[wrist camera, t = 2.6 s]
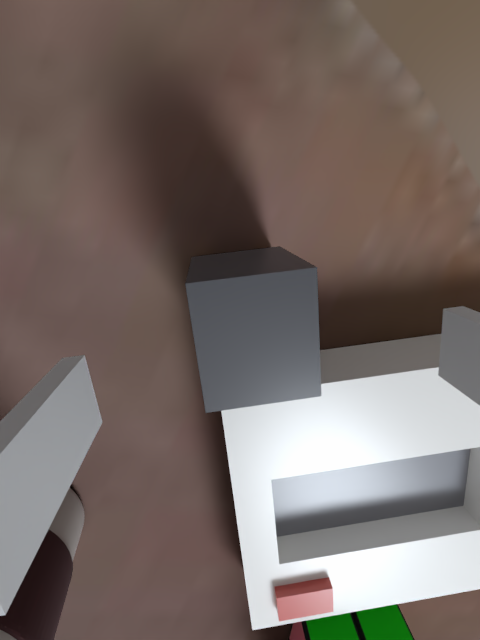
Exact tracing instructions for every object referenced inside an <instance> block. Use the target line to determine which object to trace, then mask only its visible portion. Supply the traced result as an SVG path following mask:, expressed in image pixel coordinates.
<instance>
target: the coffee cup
mask: <svg viewBox="0 0 480 640" xmlns="http://www.w3.org/2000/svg"><path fill="white" fill-rule="evenodd" d="M83 524H84V509H83V506H82V503H81V501H80V499H79V497H78V496H77V495H76V493H75V492H74V491H73V490H72V489H71V488H69V489H68V491H67V493H66V495H65V497H64V499H63V501H62V503H61V505H60V507H59V509H58V511H57V513H56V515H55V517H54V519H53V521H52V523H51V525H50V527H49V529H48V531H47V533H46V535H45V537H44V539H43V541H42V543H41V545H40V547H39V549H38V551H37V553H36V555H35V557H34V559H33V561H32V563H31V565H30V567H29V569H28V571H27V573H26V575H25V577H24V579H23V581H22V583H21V585H20V587H19V589H18V591H17V593H16V595H15V597H14V599H13V601H12V603H11V605H10V607H9V609H8V611H7V613H6V615H3V616H0V640H54V637H55V633H56V630H57V626H58V623H59V619H60V616H61V612H62V609H63V605H64V602H65V598H66V595H67V591H68V587H69V584H70V580H71V576H72V571H73V558H74V555H75V552H76V548H77V545H78V542H79V538H80V535H81V531H82V528H83Z"/></svg>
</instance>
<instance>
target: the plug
mask: <svg viewBox="0 0 480 640" xmlns="http://www.w3.org/2000/svg"><path fill="white" fill-rule="evenodd" d="M185 285H186V291H187V298H188V304H189V310H190V317H191V323H192V329H193V335H194V342H195V348H196V354H197V361H198V367H199V373H200V380H201V386H202V392H203V399H204V405H205V411H206V413H209V412H216V411H223V410H230V409H236V408H243V407H250V406H257V405H264V404H271V403H278V402H285V401H292V400H298V399H305V398H312V397H319V396H321V368H320V340H319V311H318V283H317V267H315V266H314V265H312V264H310V263H308V262H307V261H305V260H303V259H301V258H299V257H298V256H296V255H294V254H292V253H291V252H289V251H287V250H285V249H283V248H282V247H280V246H279V247H271V248H262V249H254V250H246V251H237V252H229V253H221V254H212V255H204V256H196V257H192V258H191V262H190V266H189V270H188V275H187V279H186V283H185Z"/></svg>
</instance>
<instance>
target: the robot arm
mask: <svg viewBox="0 0 480 640" xmlns="http://www.w3.org/2000/svg"><path fill="white" fill-rule="evenodd" d="M438 376H440V377H441V378H442V379H444V380H445V381H446V382H448V383H449V384H451V385H452V386H453V387H455V388H456V389H458V390H459V391H460V392H462V393H463V394H464V395H466V396H467V397H469V398H470V399H471V400H473V401H474V402H475V403H477V404H478V405H480V312H477V311H475V310H472V309H469V308H467V307H464V306H460V307H453V308H445V309H443V319H442V332H441V345H440V359H439V372H438ZM101 424H102V419H101V415H100V411H99V408H98V404H97V400H96V396H95V392H94V389H93V385H92V381H91V377H90V373H89V370H88V366H87V362H86V358H85V355H82V356H74V357H66V358H62V359H61V360H60V361H59V362H58V363H57V364H56V365H55V366H54V367H53V368H52V369H51V370H50V371H49V372H48V373H47V374H46V375H45V376H44V377H43V378H42V379H41V380H40V381H39V382H38V383H37V384H36V386H35V387H34V388H33V389H32V390H31V391H30V392H29V393H28V394H27V395H26V396H25V397H24V398H23V399H22V400H21V401H20V402H19V403H18V404H17V405H16V406H15V407H14V408H13V409H12V410H11V411H10V412H9V413H8V414H7V415H6V416H5V417H4V418H3V419H2V420H1V421H0V616H3V615H6V613H7V611H8V609H9V607H10V605H11V603H12V601H13V599H14V597H15V595H16V593H17V591H18V589H19V587H20V585H21V583H22V581H23V579H24V577H25V575H26V573H27V571H28V569H29V567H30V565H31V563H32V561H33V559H34V557H35V555H36V553H37V551H38V549H39V547H40V545H41V543H42V541H43V539H44V537H45V535H46V533H47V531H48V529H49V527H50V525H51V523H52V521H53V519H54V517H55V515H56V513H57V511H58V509H59V507H60V505H61V503H62V501H63V499H64V497H65V495H66V493H67V491H68V489H69V487H70V485H71V483H72V482H73V480H74V478H75V476H76V474H77V472H78V470H79V468H80V466H81V464H82V462H83V460H84V458H85V456H86V454H87V452H88V450H89V448H90V446H91V444H92V442H93V440H94V438H95V436H96V434H97V432H98V430H99V428H100V426H101Z"/></svg>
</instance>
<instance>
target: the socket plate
mask: <svg viewBox="0 0 480 640" xmlns="http://www.w3.org/2000/svg"><path fill="white" fill-rule="evenodd" d="M440 345H441V334H435V335H428V336H421V337H413V338H406V339H399V340H392V341H384V342H377V343H370V344H362V345H355V346H348V347H341V348H333V349H326V350H320V368H321V396H319V397H312V398H305V399H298V400H292V401H285V402H278V403H271V404H264V405H257V406H250V407H243V408H236V409H230V410H223V411H221V413H222V420H223V427H224V434H225V441H226V448H227V455H228V462H229V469H230V476H231V483H232V490H233V497H234V504H235V511H236V518H237V526H238V533H239V540H240V547H241V554H242V561H243V568H244V575H245V582H246V589H247V596H248V603H249V610H250V617H251V624H252V630H257V629H263V628H268V627H274V626H279V625H285V624H290V623H296V622H301V621H307V620H312V619H318V618H323V617H329V616H334V615H340V614H345V613H351V612H356V611H362V610H367V609H373V608H378V607H384V606H389V605H395V604H400V603H406V602H411V601H417V600H422V599H428V598H433V597H439V596H444V595H449V594H455V593H460V592H466V591H471V590H477V589H480V405H478V404H477V403H475V402H474V401H473V400H471V399H470V398H469V397H467V396H466V395H464V394H463V393H462V392H460V391H459V390H458V389H456V388H455V387H453V386H452V385H451V384H449V383H448V382H446V381H445V380H444V379H442V378H441V377H440V376H438V372H439V359H440Z"/></svg>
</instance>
